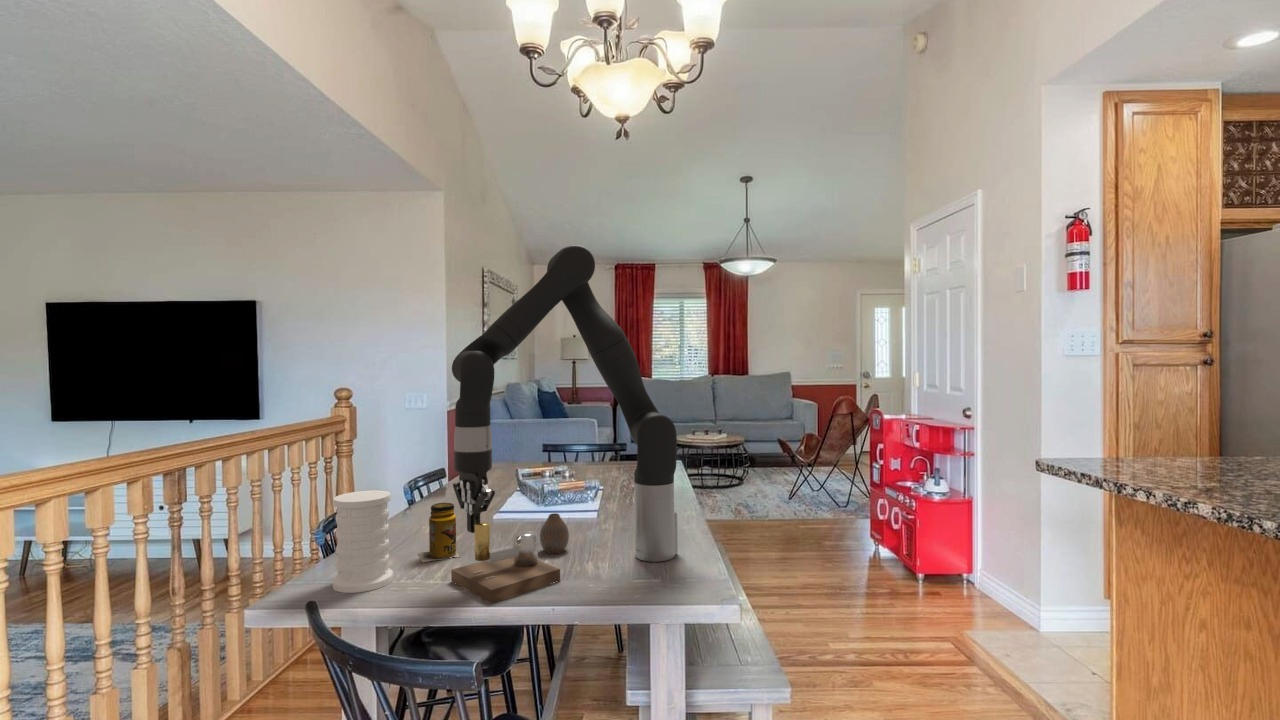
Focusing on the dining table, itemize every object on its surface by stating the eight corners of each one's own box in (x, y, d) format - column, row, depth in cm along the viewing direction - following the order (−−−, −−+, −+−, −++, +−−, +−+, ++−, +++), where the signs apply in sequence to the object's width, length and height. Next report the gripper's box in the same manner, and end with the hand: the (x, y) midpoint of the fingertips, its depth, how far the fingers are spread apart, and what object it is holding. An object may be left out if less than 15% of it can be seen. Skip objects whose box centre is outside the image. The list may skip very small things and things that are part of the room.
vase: (563, 556, 141) (563, 518, 141) (535, 554, 143) (535, 517, 143) (572, 547, 148) (572, 511, 148) (546, 546, 149) (545, 510, 149)
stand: (517, 562, 137) (517, 551, 137) (560, 580, 125) (560, 567, 125) (451, 581, 126) (451, 568, 126) (491, 603, 114) (491, 588, 114)
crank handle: (530, 556, 133) (529, 510, 133) (542, 562, 129) (541, 515, 129) (470, 571, 123) (469, 522, 123) (481, 578, 120) (481, 527, 120)
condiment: (460, 557, 141) (459, 506, 141) (421, 563, 138) (421, 510, 138) (455, 548, 148) (454, 499, 148) (418, 554, 144) (417, 503, 144)
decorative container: (359, 596, 118) (358, 504, 118) (319, 587, 123) (318, 499, 123) (405, 577, 129) (404, 492, 129) (366, 569, 134) (365, 488, 134)
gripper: (506, 449, 123) (507, 534, 123) (472, 442, 132) (472, 521, 132) (473, 453, 118) (474, 542, 118) (440, 446, 127) (440, 529, 127)
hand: (473, 531), depth 125 cm, fingers closed
